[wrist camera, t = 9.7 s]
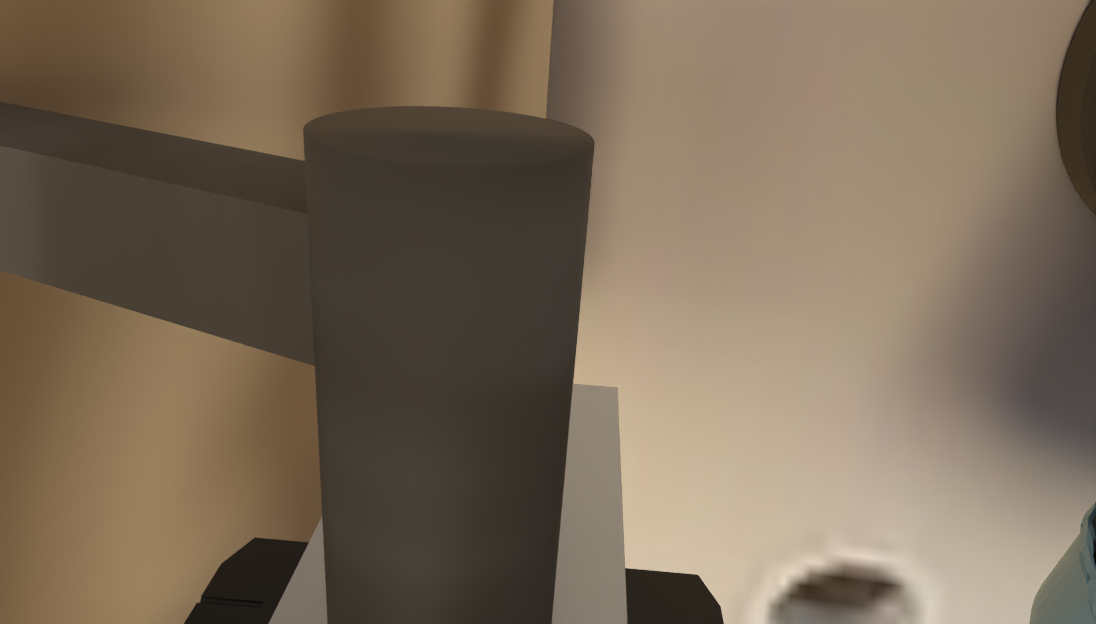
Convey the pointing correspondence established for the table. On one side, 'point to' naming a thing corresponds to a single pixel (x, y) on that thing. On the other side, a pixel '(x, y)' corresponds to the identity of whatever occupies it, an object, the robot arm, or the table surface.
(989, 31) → the table surface
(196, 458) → the lid
